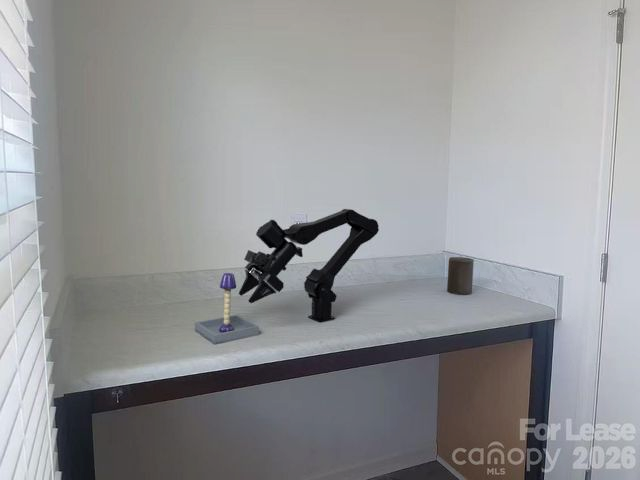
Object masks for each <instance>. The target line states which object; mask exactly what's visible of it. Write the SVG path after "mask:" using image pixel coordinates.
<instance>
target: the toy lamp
mask: <svg viewBox="0 0 640 480" xmlns="http://www.w3.org/2000/svg"><path fill="white" fill-rule="evenodd" d="M219 288H220V289H223V290H224V299H223V302H224V303H223V309H224V310H223V317H224V324H223V325H221V326H220V328H219V331H220V332H223V333H224V332H229V331H234V328H233V326H232V325H231V324H229V323H230V320H229V319H230V316H231V297H232V294H231V292H232V290H233V289H236V288H237V284H236V279H235V275H234V273H233V272H231V273H230V272H224V273H223V274H222V277H221V281H220V284H219Z"/></svg>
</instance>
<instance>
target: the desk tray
mask: <svg viewBox="0 0 640 480" xmlns="http://www.w3.org/2000/svg"><path fill="white" fill-rule="evenodd" d="M229 320H230V323H229V324H231V325H232V326H233V328H234V331H229V332H224V333H223V332H220V331H219V328H220V326H221V325H223V324H224V316H222V317H217V318H211V319H207V320H206V319H205V320H201V321H195V322H194V331H195V332H196V333H198V334H199V335H201V336H202V337H203V338H205V339H206V340H207V341H209V342H211V343H212V344H213V345H214V346H215V345H219V344H224V343H228V342H232V341H237V340H242V339H246V338H251V337H255V336H260V325H257V324H256V323H254V322H252V321H249V320H248V319H246V318H244V317H242V316H240V315H239V314H234V315H230V319H229Z"/></svg>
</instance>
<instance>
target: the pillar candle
mask: <svg viewBox="0 0 640 480" xmlns="http://www.w3.org/2000/svg"><path fill="white" fill-rule="evenodd" d="M474 260H475V259H474V258H470V257H463V256H452V257H451V256H450V257H449V258H448V264H447V265H448V267H447V281H446V283H447V286H446V292H448V293H449V294H454V295H460V296H461V295H462V296H465V295H467V294H468V295H472V293H473V281H474V278H473V277H474V262H475V261H474Z"/></svg>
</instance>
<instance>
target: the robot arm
mask: <svg viewBox="0 0 640 480" xmlns="http://www.w3.org/2000/svg"><path fill="white" fill-rule="evenodd" d="M346 224H347V225H348V226H350V231H349V235H348V237H347V238H346V239H345V241H344V242H342V244H341V245H340V246H339V248H338V249H337V250H336V251H335V253H334V254H332V256H331V257H330V259H329V260H327V262H326V263H325V265H324V266H323V267H322V268H320V269H317V268H313V269H312V270H311V271H310V273H309V274H308V275H306V276H305V280H304V283H303V285H304V287H303V288H304V291H305V292H306V294H307V295H308V298H309V299H311V315H307V318H309V319H311V320H313V321H316V322H317V323H324V322H327V321H331V320H332V321H333V320H335V319H336V317H335V316H332V303H334V302H336V299H337V294H336V293H335V292H334V291H333V290H332V288H333V287H334V282H335V278H336V276H337V275H338V274H339V273H340V271H341V270H342V269H343V268H344V266H345V265H346V264H347V263H348V262H349V260H350V259H351V258H352V257H353V255H354V254H355V253H356V252H357V250H358V249H359V248H360V247H361V246H362V245H363V244H365V243H368V242H370V241H371V240H372V239H373V238H374V237H376V235H377V234H378V233H379V231H380V229H379V223H378V221H377V220H376V219H374V218H369V217H366V216H365V215H362V214H361V213H359V212H357V211H355V210H354V209H349V208H343V209H342V210H339V211H337V212H335V213H332V214H328V215H327V216H324V217H322V218H319V219H316V220H314V221H309V222H299V223H294V224H292V225H290V226H288V228H285V229H283V228H282V227H281V226H280V225H279V224H278V222H277V221H276V220H275V219H269V221H267V222H266V223H264V224H263V225H261V226H260V227H258V229H257V231H256V233H255V236H256V237H258V239H259V240H260V241H261V242H263V244H265V245H266V247H268V248H269V249H273V248H274V249H273V250H272V252H271V253H264V252H262V251H260V250H259V251H258V252H257V253H256V252H254V251H252V250H249V249H248V250H247V252H246V255H245V257H244V259H243V260H244V261H245V262H248V263H247V264H246V266H244V272H245V279H244V281H243V284H242V285H241V287H240V290H239V292H238V295H240V296H241V297H242V296H243V295H245V294H246V293H248V292H250V291H252V290H253V289H255V290H254V291H253V292H252V294H251V296H250V298H248V302H249V304H253V303H255V302H257V301H259V300H261V299H264V298H266V297H268V296H271V295H273V294H276V293H277V292H278V293H280V292H281V291H282V290H283V289H284V288H285V287H284V286H285V285H284V282H283V281H282V280H281V279H280V278H279V277H278V275H279V274H280V273H281V272H282V271H284V272H285V271H286V270H287V267H286V266H287V265H288V264H289V262H290V261H291V260H292V259H293V258H294V257H295V256H297V257H300V258H303V256H304V255H303V248H302V247H300V246H297V245H296V244H298V245H303V246H305V245H308V244H309V243H311V242H313V241H314V240H317V238H318V237H319V236H321V234H324V233H326V232H328V231H330V230H334V229H335V228H338V227H342V226H343V225H346ZM287 239H288V240H289V241H288V240H287Z"/></svg>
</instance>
